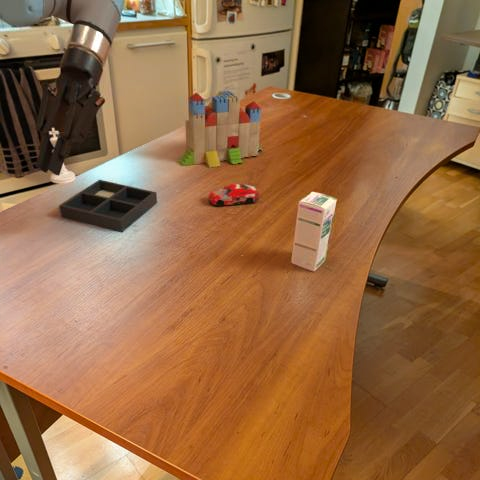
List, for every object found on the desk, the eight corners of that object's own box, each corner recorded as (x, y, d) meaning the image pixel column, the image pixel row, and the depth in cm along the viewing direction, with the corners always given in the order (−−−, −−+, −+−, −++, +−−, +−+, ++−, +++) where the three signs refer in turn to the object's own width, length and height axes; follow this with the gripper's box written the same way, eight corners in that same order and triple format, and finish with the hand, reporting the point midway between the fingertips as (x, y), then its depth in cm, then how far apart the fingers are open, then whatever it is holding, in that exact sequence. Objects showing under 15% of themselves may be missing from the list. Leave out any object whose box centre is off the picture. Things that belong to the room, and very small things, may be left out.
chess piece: (49, 174, 95) (38, 124, 88) (74, 172, 96) (65, 123, 90) (51, 184, 91) (39, 133, 85) (76, 182, 93) (67, 131, 86)
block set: (253, 144, 152) (257, 80, 139) (273, 159, 142) (279, 92, 130) (171, 153, 142) (168, 85, 130) (186, 170, 132) (185, 99, 120)
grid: (61, 216, 108) (58, 205, 106) (101, 190, 120) (99, 179, 118) (122, 232, 104) (120, 220, 102) (157, 202, 116) (156, 192, 114)
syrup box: (314, 272, 96) (326, 208, 86) (289, 263, 98) (298, 199, 89) (325, 260, 100) (338, 198, 90) (301, 251, 102) (311, 190, 92)
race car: (210, 208, 116) (210, 193, 113) (205, 198, 119) (205, 184, 117) (260, 204, 119) (261, 189, 116) (254, 194, 123) (255, 180, 120)
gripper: (127, 76, 92) (90, 186, 91) (63, 66, 96) (27, 171, 94) (108, 50, 85) (69, 169, 84) (40, 40, 89) (1, 154, 87)
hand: (47, 170), depth 89 cm, fingers closed on chess piece, 2 cm apart
